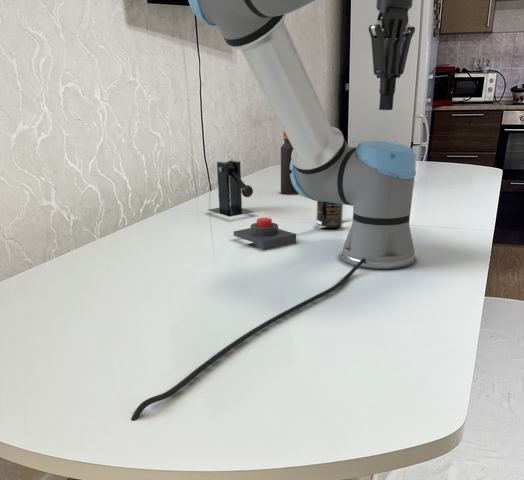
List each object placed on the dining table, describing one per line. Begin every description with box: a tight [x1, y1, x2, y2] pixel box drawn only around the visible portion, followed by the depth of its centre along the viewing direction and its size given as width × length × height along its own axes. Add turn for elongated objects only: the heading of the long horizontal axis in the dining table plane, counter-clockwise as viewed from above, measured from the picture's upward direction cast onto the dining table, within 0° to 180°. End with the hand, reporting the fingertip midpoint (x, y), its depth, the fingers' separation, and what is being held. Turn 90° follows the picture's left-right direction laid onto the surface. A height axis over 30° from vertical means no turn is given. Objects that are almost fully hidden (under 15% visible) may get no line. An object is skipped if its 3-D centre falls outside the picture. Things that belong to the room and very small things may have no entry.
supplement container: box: [316, 201, 344, 231], centre depth 136 cm, size 7×7×10 cm
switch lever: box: [224, 161, 254, 198], centre depth 146 cm, size 13×3×3 cm
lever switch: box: [208, 159, 255, 218], centre depth 151 cm, size 12×9×15 cm
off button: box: [256, 217, 273, 227], centre depth 126 cm, size 4×4×2 cm
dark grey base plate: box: [233, 222, 297, 251], centre depth 127 cm, size 12×10×4 cm
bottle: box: [280, 131, 299, 195], centre depth 179 cm, size 7×7×20 cm
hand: (385, 109), depth 122 cm, fingers closed
